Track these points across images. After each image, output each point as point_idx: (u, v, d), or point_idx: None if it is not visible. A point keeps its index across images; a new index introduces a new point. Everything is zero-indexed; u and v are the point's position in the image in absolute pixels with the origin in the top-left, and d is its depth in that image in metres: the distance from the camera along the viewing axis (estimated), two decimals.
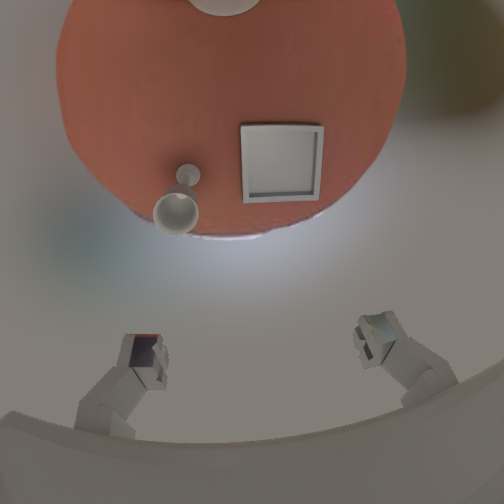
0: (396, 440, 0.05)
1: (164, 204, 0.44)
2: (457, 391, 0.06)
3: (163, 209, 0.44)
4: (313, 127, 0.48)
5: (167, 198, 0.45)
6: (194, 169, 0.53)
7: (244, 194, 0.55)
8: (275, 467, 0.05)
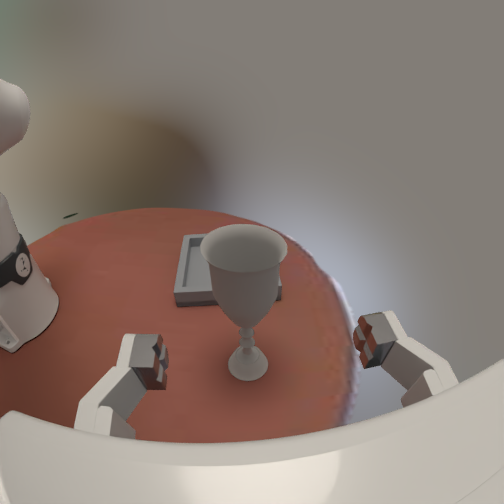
0: (396, 440, 0.05)
1: (252, 313, 0.23)
2: (457, 391, 0.06)
3: (257, 305, 0.23)
4: (184, 241, 0.51)
5: None
6: None
7: None
8: (275, 467, 0.05)
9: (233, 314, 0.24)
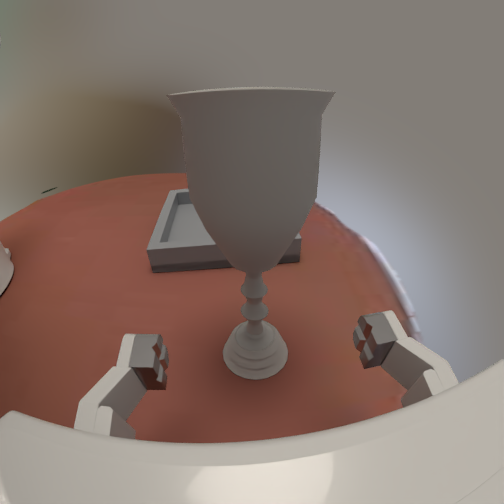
0: (396, 440, 0.05)
1: None
2: (457, 391, 0.06)
3: (281, 198, 0.10)
4: (169, 195, 0.38)
5: None
6: None
7: None
8: (275, 467, 0.05)
9: (228, 228, 0.11)
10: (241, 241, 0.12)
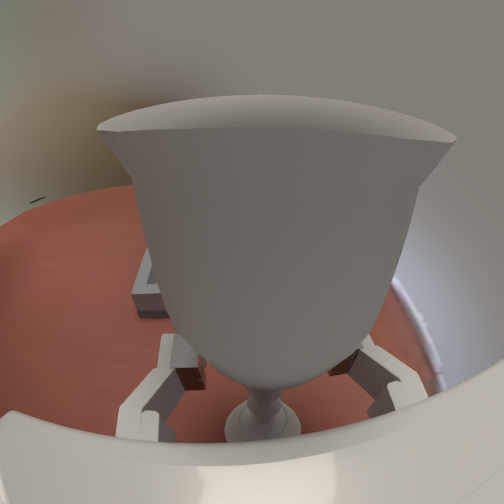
0: (396, 440, 0.05)
1: None
2: (457, 391, 0.06)
3: None
4: None
5: None
6: None
7: None
8: (275, 467, 0.05)
9: (232, 374, 0.06)
10: (253, 384, 0.07)
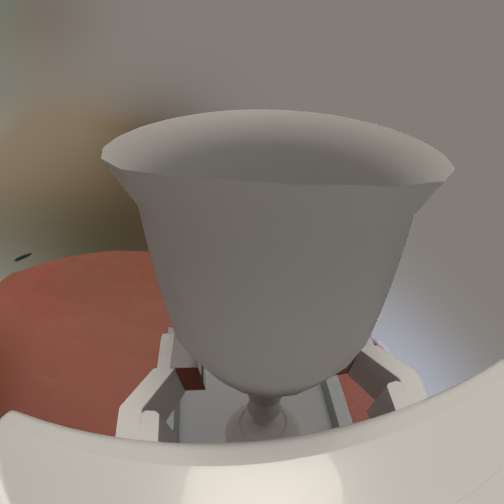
0: (396, 440, 0.05)
1: None
2: (457, 391, 0.06)
3: None
4: None
5: None
6: None
7: None
8: (275, 467, 0.05)
9: (231, 383, 0.07)
10: (251, 393, 0.07)
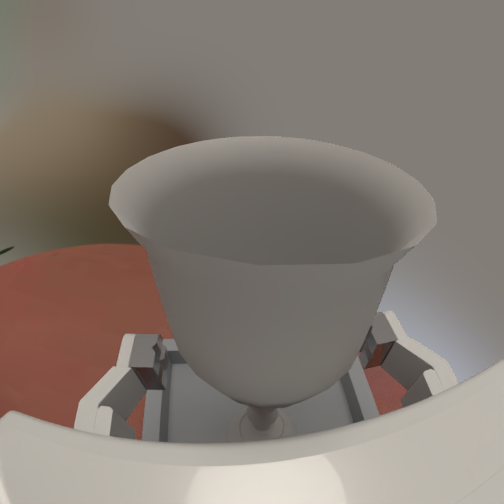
0: (396, 440, 0.05)
1: None
2: (457, 391, 0.06)
3: None
4: None
5: None
6: None
7: None
8: (275, 467, 0.05)
9: (226, 394, 0.07)
10: (244, 403, 0.08)
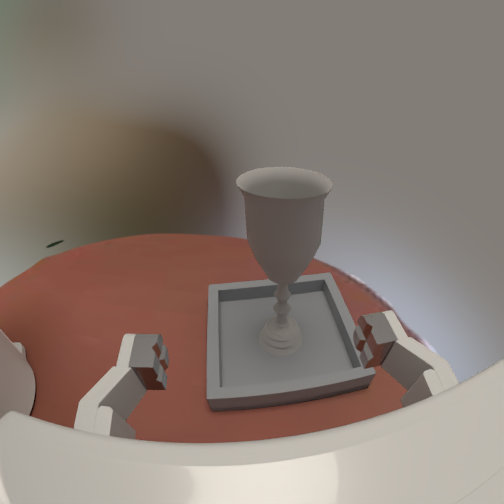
0: (396, 440, 0.05)
1: None
2: (457, 391, 0.06)
3: (299, 248, 0.20)
4: (210, 296, 0.33)
5: None
6: None
7: (356, 375, 0.23)
8: (275, 467, 0.05)
9: (270, 261, 0.21)
10: (277, 268, 0.22)
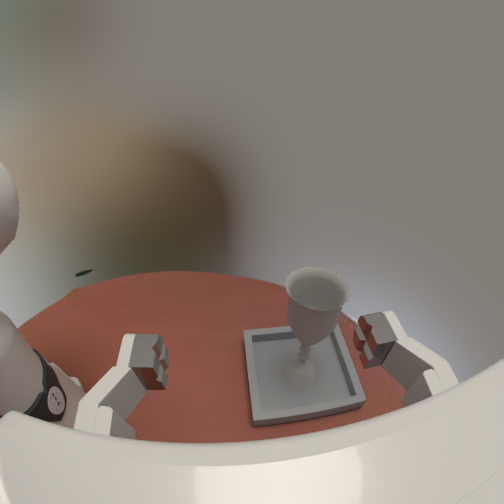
0: (396, 440, 0.05)
1: (319, 336, 0.30)
2: (457, 391, 0.06)
3: (324, 331, 0.29)
4: (246, 340, 0.42)
5: None
6: (290, 362, 0.40)
7: (353, 401, 0.32)
8: (275, 467, 0.05)
9: (304, 337, 0.30)
10: (307, 340, 0.31)
